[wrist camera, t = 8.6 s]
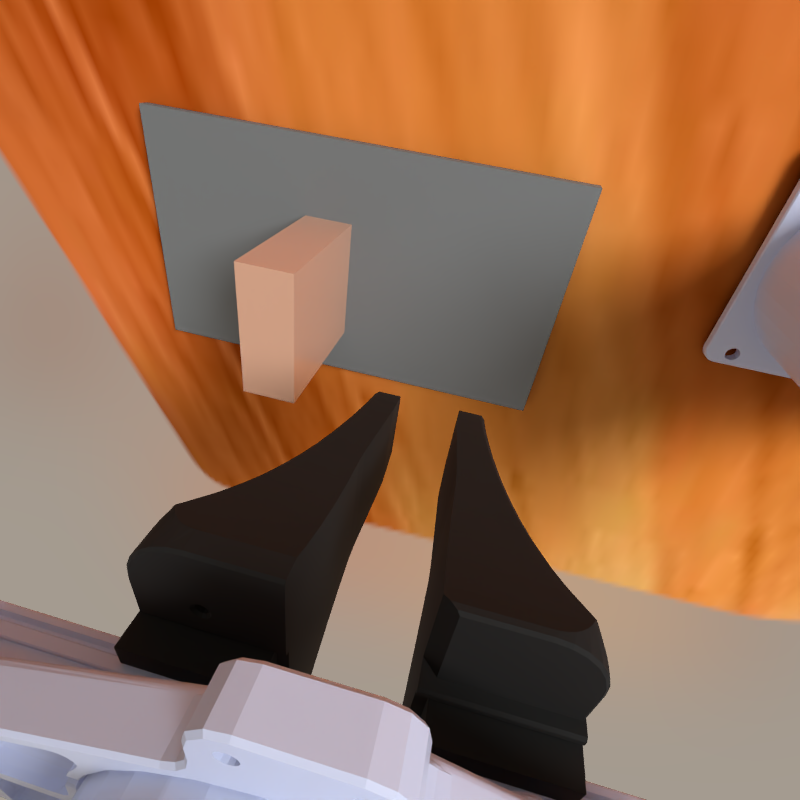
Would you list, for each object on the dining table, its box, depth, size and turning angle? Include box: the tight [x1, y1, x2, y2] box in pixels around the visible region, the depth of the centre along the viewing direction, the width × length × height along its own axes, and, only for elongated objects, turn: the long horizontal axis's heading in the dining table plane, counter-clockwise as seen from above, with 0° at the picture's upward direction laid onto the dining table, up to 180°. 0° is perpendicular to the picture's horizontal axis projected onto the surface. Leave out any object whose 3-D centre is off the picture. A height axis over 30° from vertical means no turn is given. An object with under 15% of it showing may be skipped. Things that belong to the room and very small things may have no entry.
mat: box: [139, 103, 602, 411], centre depth 21 cm, size 18×10×1 cm, turn 82°
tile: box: [234, 215, 352, 403], centre depth 19 cm, size 2×5×6 cm, turn 172°
